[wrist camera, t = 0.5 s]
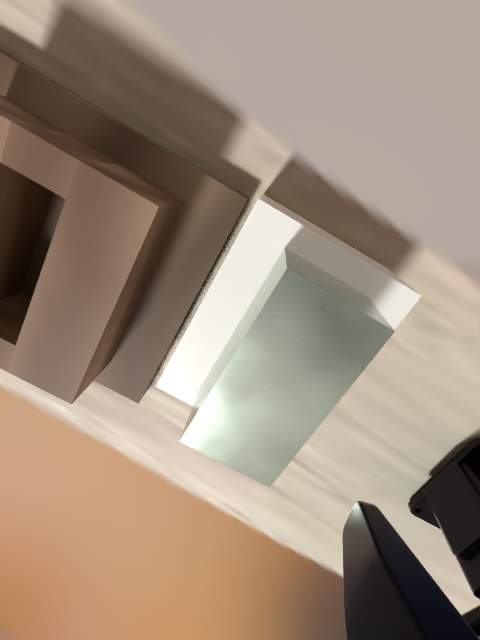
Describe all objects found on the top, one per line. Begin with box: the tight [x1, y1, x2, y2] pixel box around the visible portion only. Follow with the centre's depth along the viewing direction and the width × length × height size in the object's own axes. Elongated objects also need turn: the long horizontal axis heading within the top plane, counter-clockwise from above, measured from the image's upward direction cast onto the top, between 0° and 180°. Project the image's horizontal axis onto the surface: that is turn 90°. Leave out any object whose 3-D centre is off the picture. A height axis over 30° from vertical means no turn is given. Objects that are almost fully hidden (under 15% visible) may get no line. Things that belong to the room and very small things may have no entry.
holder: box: [156, 194, 421, 406], centre depth 17 cm, size 7×9×5 cm
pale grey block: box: [180, 248, 395, 487], centre depth 15 cm, size 4×7×7 cm, turn 151°
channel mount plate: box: [0, 51, 249, 404], centre depth 17 cm, size 14×13×5 cm
